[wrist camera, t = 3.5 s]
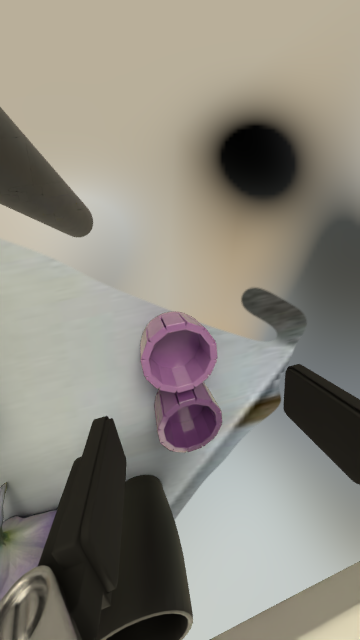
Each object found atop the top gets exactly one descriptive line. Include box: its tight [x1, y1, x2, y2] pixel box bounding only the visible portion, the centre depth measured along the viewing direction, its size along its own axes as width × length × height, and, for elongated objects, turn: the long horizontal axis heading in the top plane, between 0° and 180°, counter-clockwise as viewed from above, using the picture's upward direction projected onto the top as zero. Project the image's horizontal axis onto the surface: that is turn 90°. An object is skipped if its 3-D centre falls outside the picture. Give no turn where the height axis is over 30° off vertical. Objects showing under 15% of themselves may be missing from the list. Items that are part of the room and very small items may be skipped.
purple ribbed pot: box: [140, 312, 217, 393], centre depth 15 cm, size 6×6×4 cm
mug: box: [96, 475, 193, 640], centre depth 17 cm, size 8×12×10 cm
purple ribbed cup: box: [154, 382, 222, 453], centre depth 17 cm, size 6×6×4 cm
